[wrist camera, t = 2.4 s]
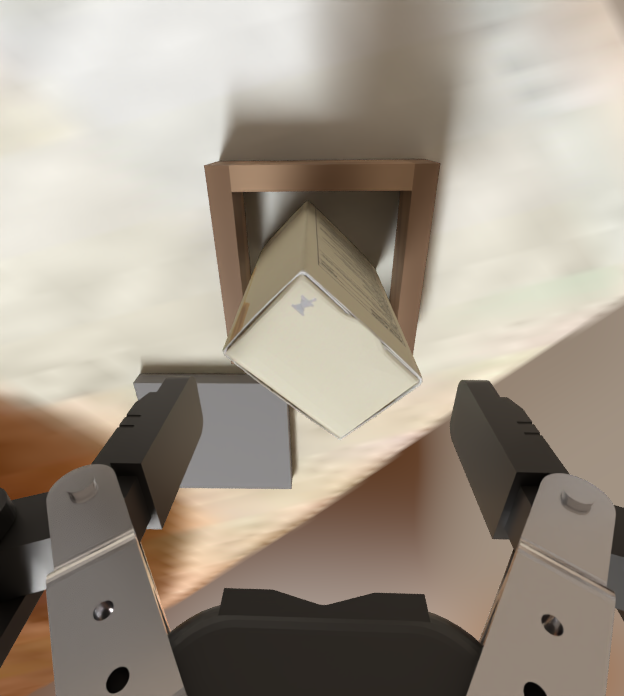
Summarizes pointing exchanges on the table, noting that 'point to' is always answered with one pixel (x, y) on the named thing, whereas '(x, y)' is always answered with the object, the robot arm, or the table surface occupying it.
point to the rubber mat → (235, 433)
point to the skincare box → (321, 328)
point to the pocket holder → (326, 175)
